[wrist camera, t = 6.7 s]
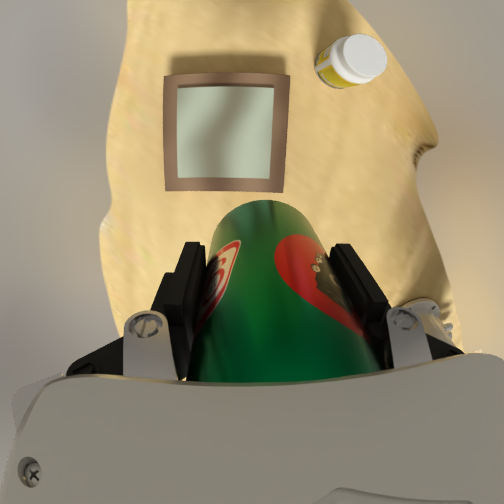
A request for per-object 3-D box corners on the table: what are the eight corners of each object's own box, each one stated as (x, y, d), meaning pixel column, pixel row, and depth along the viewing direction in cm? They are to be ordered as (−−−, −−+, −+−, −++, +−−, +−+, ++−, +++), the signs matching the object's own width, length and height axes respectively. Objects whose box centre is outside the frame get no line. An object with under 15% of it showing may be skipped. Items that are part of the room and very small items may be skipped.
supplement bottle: (358, 88, 24) (396, 82, 17) (318, 90, 25) (345, 82, 17) (350, 49, 22) (385, 31, 15) (309, 49, 22) (333, 28, 15)
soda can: (213, 192, 12) (138, 509, 2) (321, 200, 13) (476, 455, 2) (211, 283, 15) (186, 526, 4) (303, 288, 15) (361, 512, 5)
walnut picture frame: (286, 78, 24) (290, 75, 21) (279, 186, 30) (283, 193, 27) (170, 79, 24) (162, 75, 21) (171, 184, 29) (164, 192, 27)
